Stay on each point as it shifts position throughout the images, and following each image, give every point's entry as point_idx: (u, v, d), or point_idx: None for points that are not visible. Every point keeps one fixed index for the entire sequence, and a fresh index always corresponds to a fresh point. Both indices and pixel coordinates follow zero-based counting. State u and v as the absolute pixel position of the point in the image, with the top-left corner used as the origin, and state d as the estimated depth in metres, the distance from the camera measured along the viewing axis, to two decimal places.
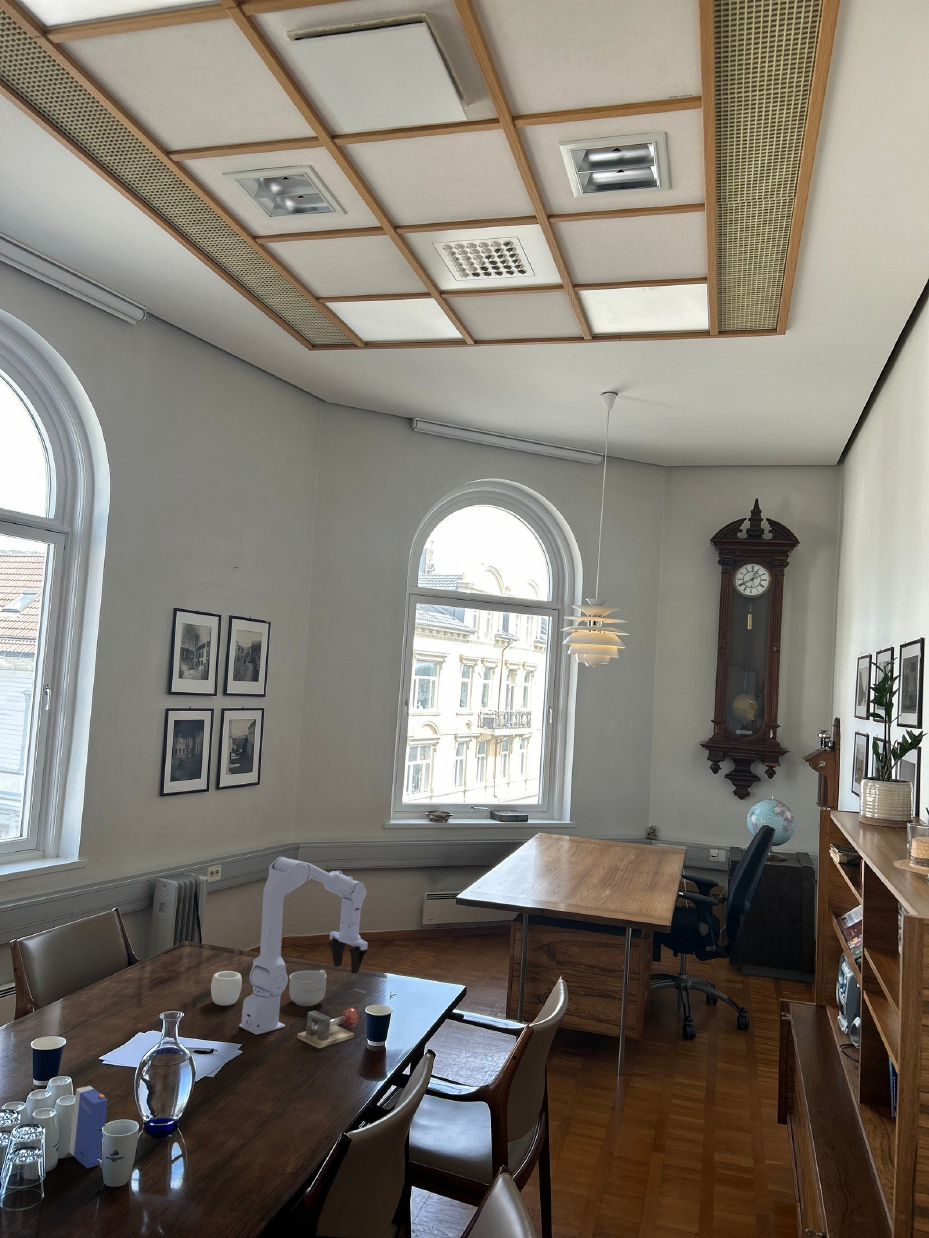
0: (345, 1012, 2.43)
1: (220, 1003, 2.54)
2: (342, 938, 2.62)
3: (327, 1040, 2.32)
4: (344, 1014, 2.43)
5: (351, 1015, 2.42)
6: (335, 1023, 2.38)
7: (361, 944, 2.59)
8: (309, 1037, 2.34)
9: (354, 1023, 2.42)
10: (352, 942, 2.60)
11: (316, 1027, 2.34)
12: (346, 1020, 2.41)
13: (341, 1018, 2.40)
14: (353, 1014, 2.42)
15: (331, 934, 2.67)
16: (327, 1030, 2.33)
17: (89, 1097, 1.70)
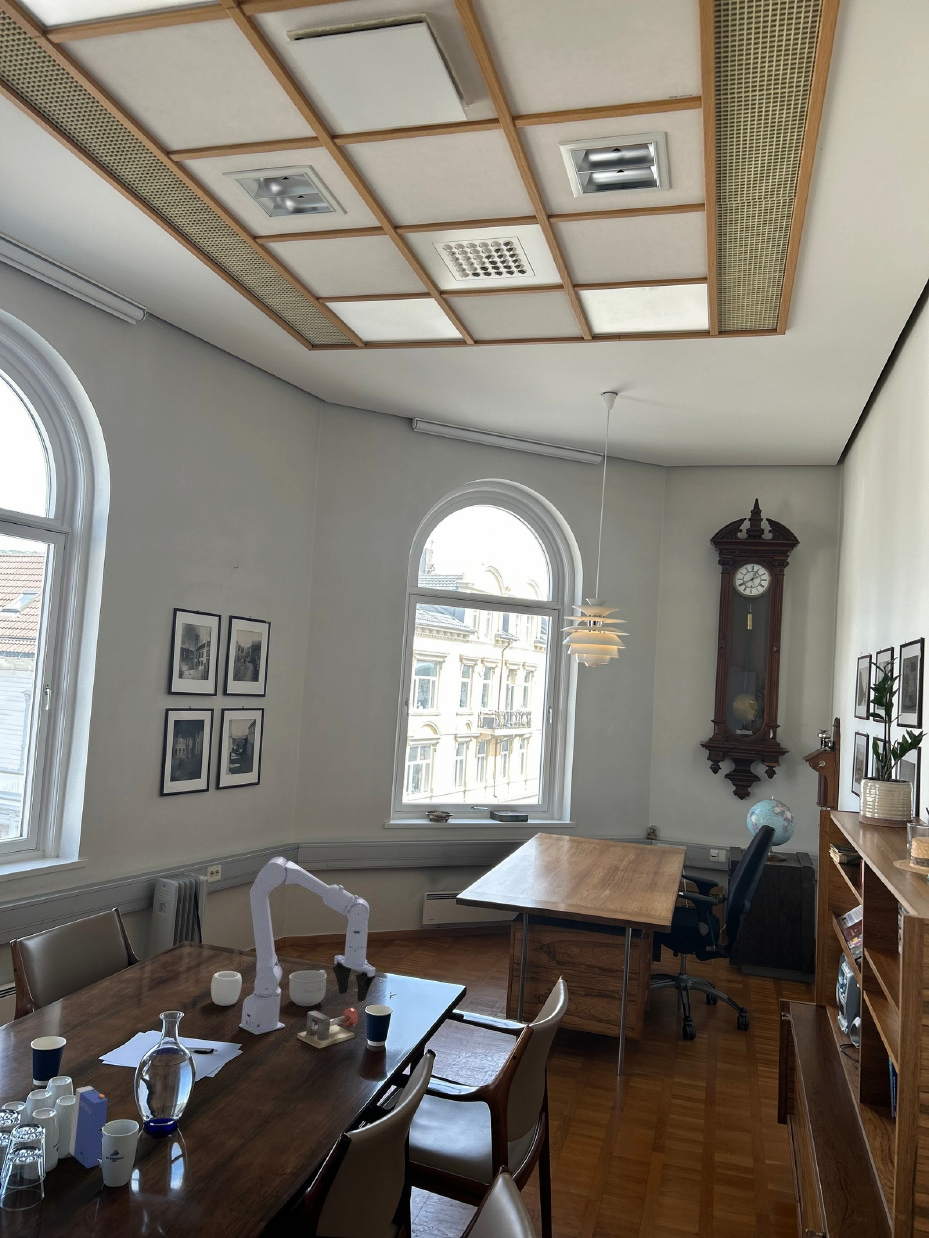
0: (345, 1012, 2.43)
1: (220, 1003, 2.54)
2: (348, 963, 2.42)
3: (327, 1040, 2.32)
4: (344, 1014, 2.43)
5: (351, 1015, 2.42)
6: (335, 1023, 2.38)
7: (368, 970, 2.39)
8: (309, 1037, 2.34)
9: (354, 1023, 2.42)
10: (358, 968, 2.41)
11: (316, 1027, 2.34)
12: (346, 1020, 2.41)
13: (341, 1018, 2.40)
14: (353, 1014, 2.42)
15: (336, 958, 2.48)
16: (327, 1030, 2.33)
17: (89, 1097, 1.70)
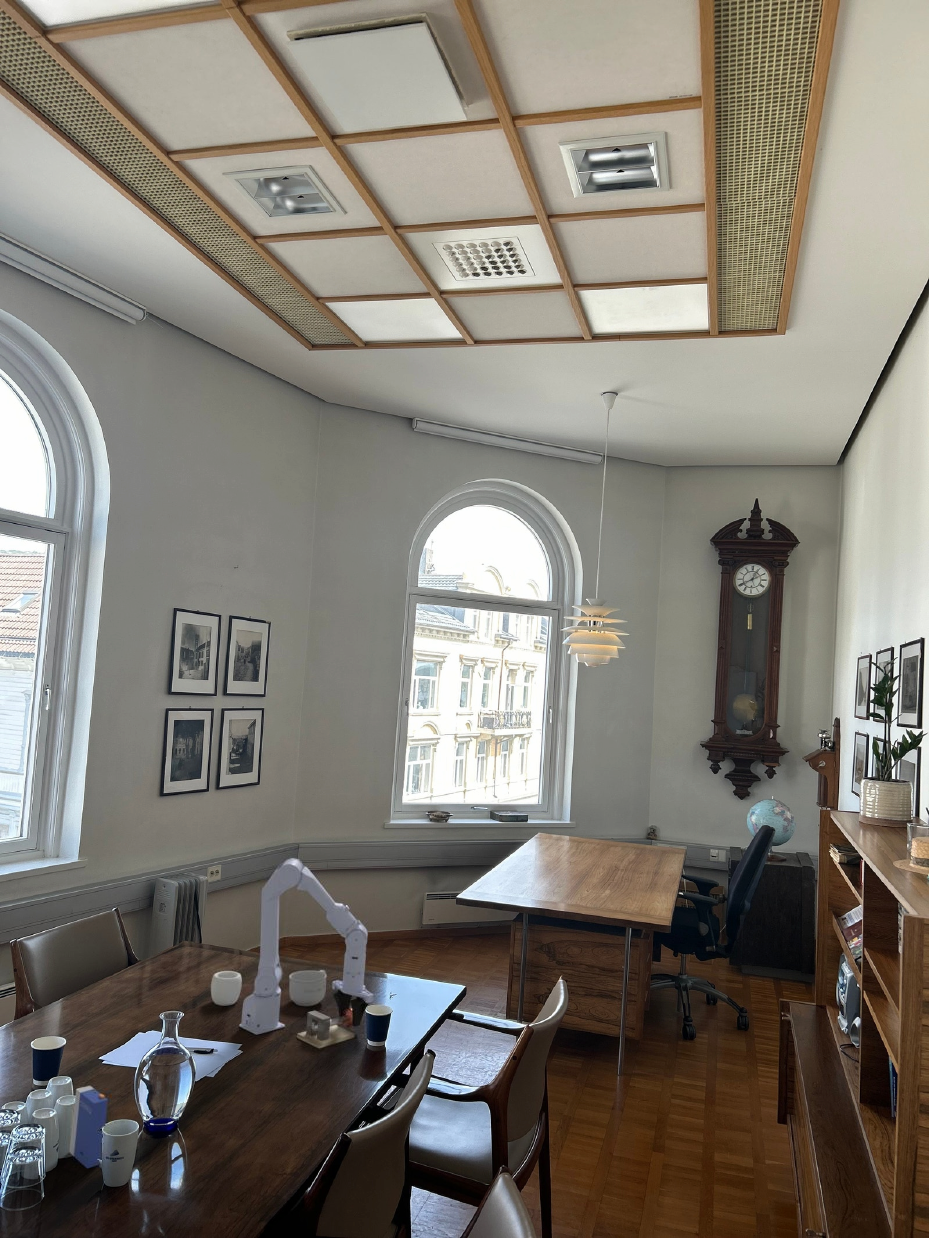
0: (345, 1012, 2.43)
1: (220, 1003, 2.54)
2: (345, 989, 2.42)
3: (327, 1040, 2.32)
4: (344, 1014, 2.43)
5: (351, 1015, 2.42)
6: (335, 1023, 2.38)
7: (366, 996, 2.39)
8: (309, 1037, 2.34)
9: None
10: (356, 994, 2.40)
11: (316, 1027, 2.34)
12: (346, 1020, 2.41)
13: (341, 1018, 2.40)
14: None
15: (333, 984, 2.47)
16: (327, 1030, 2.33)
17: (89, 1097, 1.70)
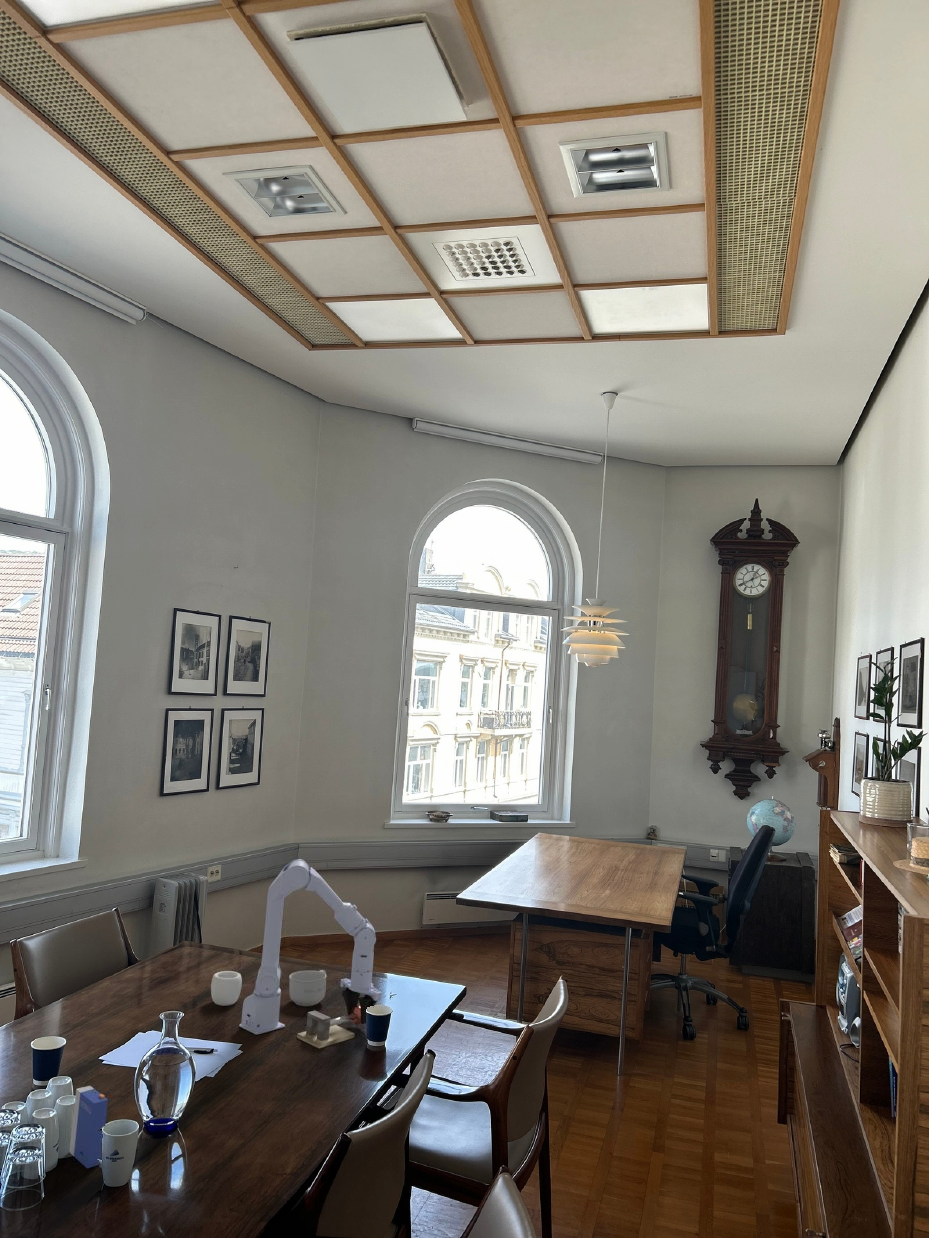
0: (353, 1010, 2.45)
1: (220, 1003, 2.54)
2: (354, 987, 2.44)
3: (327, 1040, 2.32)
4: (352, 1012, 2.46)
5: (359, 1013, 2.44)
6: (343, 1020, 2.40)
7: (374, 994, 2.41)
8: (309, 1037, 2.34)
9: None
10: (365, 992, 2.42)
11: None
12: (354, 1018, 2.43)
13: (349, 1016, 2.42)
14: None
15: (342, 982, 2.50)
16: (327, 1030, 2.33)
17: (89, 1096, 1.70)
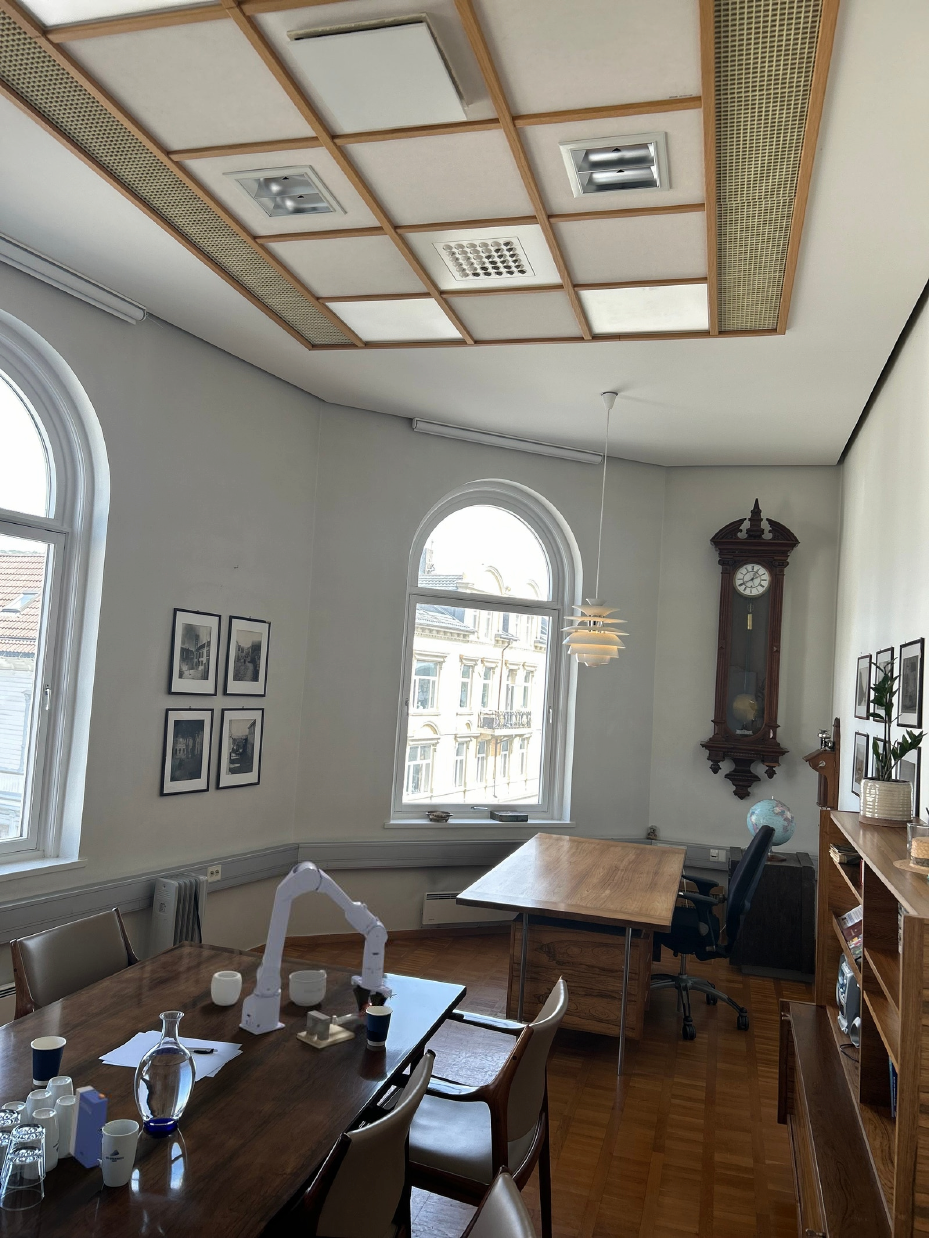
0: (364, 1007, 2.48)
1: (220, 1003, 2.54)
2: (365, 984, 2.47)
3: (327, 1040, 2.32)
4: (363, 1009, 2.49)
5: None
6: (354, 1017, 2.43)
7: (385, 991, 2.44)
8: (309, 1037, 2.34)
9: None
10: (375, 989, 2.45)
11: (336, 1021, 2.39)
12: (365, 1014, 2.46)
13: (360, 1012, 2.45)
14: None
15: (353, 979, 2.53)
16: (327, 1030, 2.33)
17: (89, 1097, 1.70)
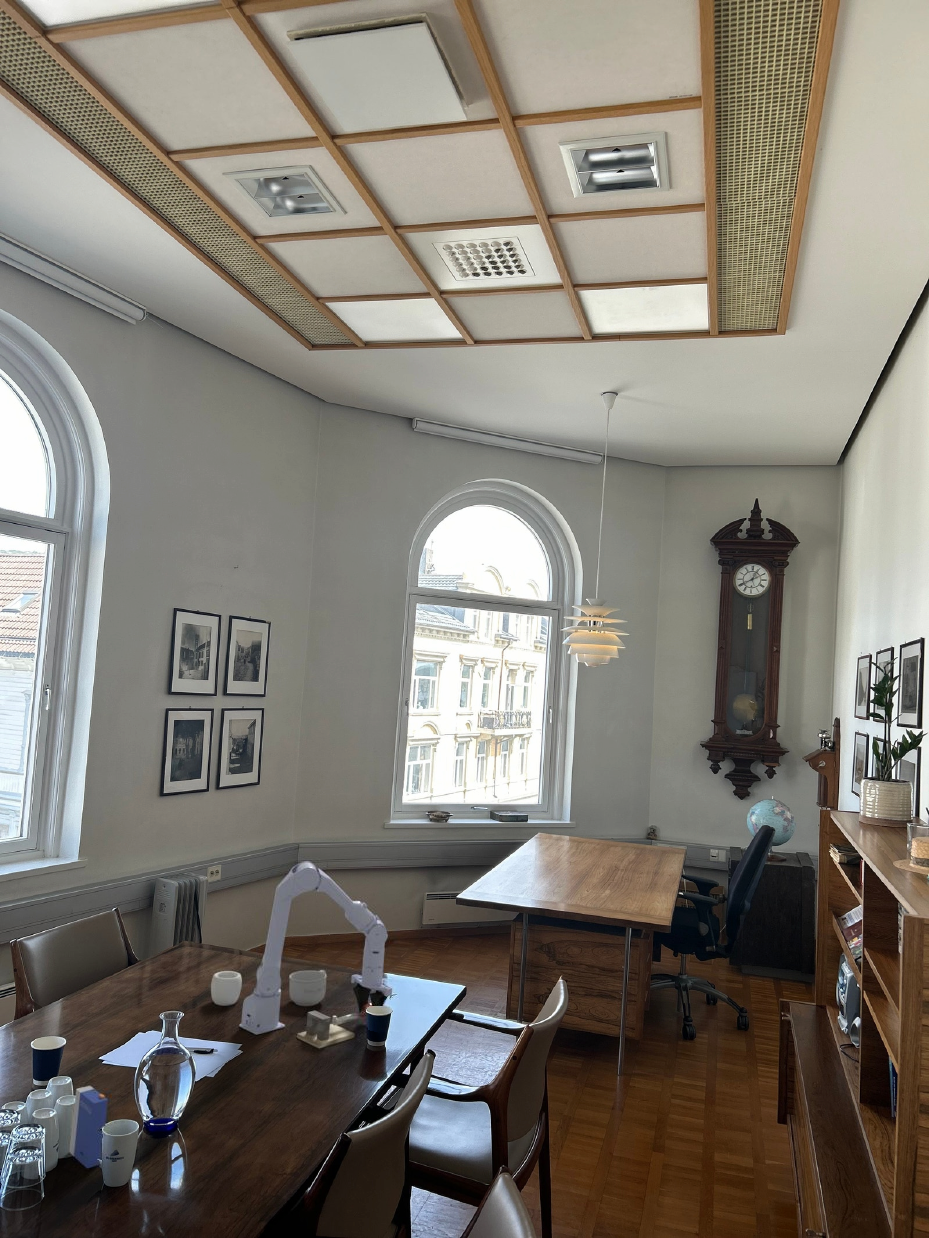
0: (364, 1007, 2.48)
1: (220, 1003, 2.54)
2: (365, 983, 2.47)
3: (327, 1040, 2.32)
4: (363, 1009, 2.49)
5: None
6: (354, 1017, 2.43)
7: (385, 990, 2.44)
8: (309, 1037, 2.34)
9: None
10: (376, 987, 2.45)
11: (336, 1021, 2.39)
12: (365, 1014, 2.46)
13: (360, 1012, 2.45)
14: None
15: (353, 978, 2.53)
16: (327, 1030, 2.33)
17: (89, 1097, 1.70)
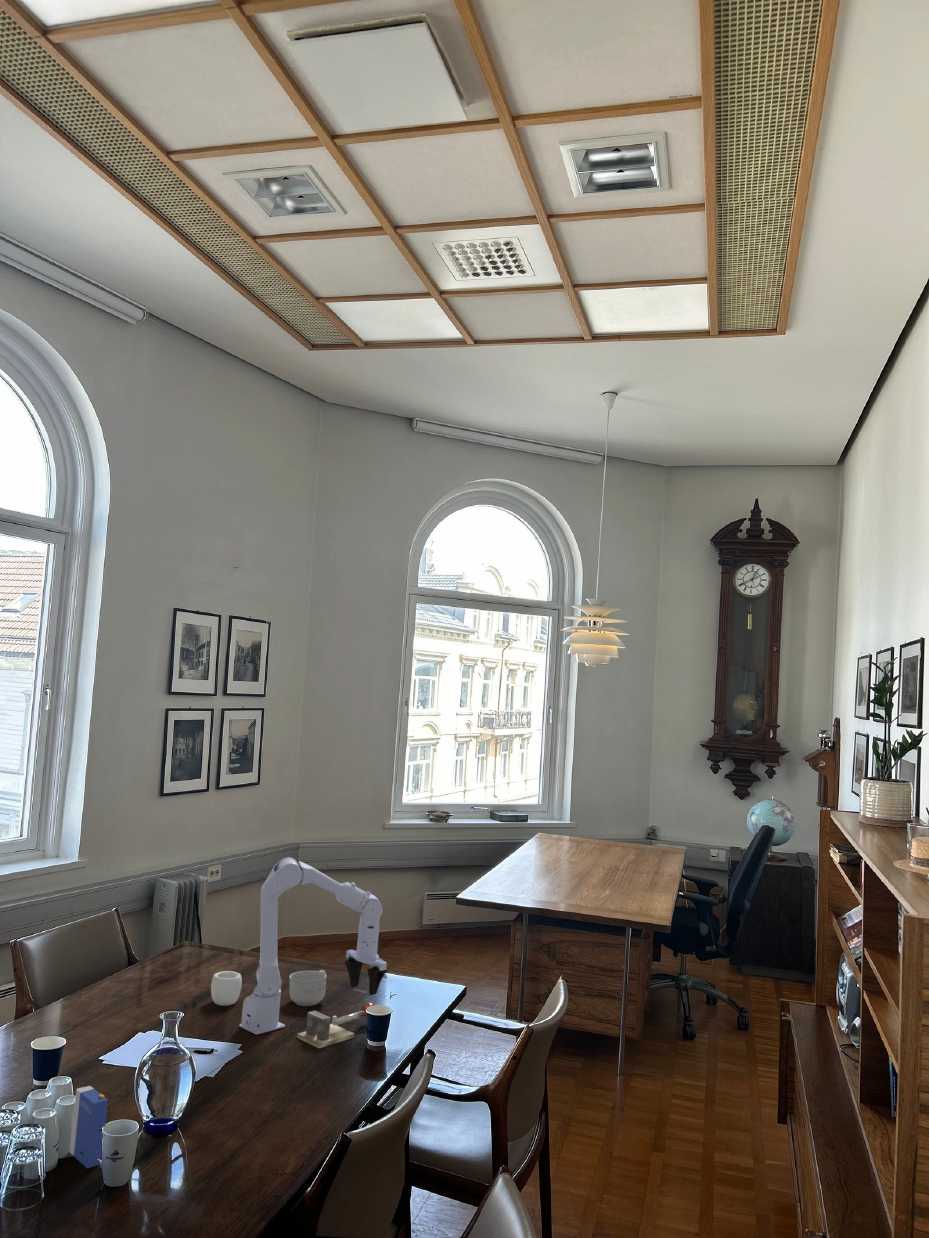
0: (364, 1007, 2.48)
1: (220, 1003, 2.54)
2: (360, 957, 2.48)
3: (327, 1040, 2.32)
4: (363, 1009, 2.49)
5: None
6: (354, 1017, 2.43)
7: (380, 964, 2.45)
8: (309, 1037, 2.34)
9: None
10: (370, 962, 2.46)
11: (336, 1021, 2.39)
12: (365, 1014, 2.46)
13: (360, 1012, 2.45)
14: None
15: (348, 953, 2.54)
16: (327, 1030, 2.33)
17: (89, 1097, 1.70)
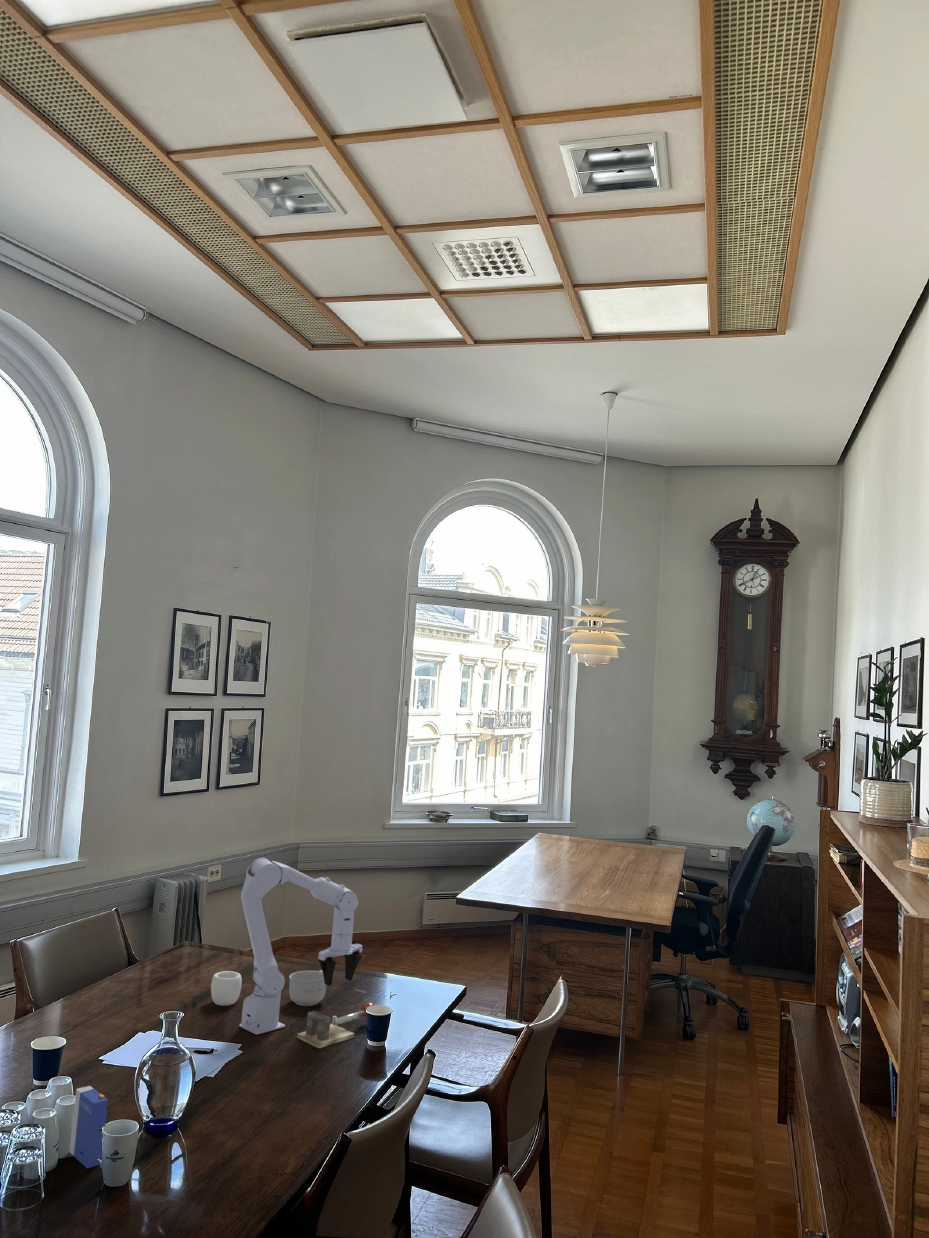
0: (364, 1007, 2.48)
1: (220, 1003, 2.54)
2: None
3: (327, 1040, 2.32)
4: (363, 1009, 2.49)
5: None
6: (354, 1017, 2.43)
7: None
8: (309, 1037, 2.34)
9: None
10: None
11: (336, 1021, 2.39)
12: (365, 1014, 2.46)
13: (360, 1012, 2.45)
14: None
15: None
16: (327, 1030, 2.33)
17: (89, 1097, 1.70)
